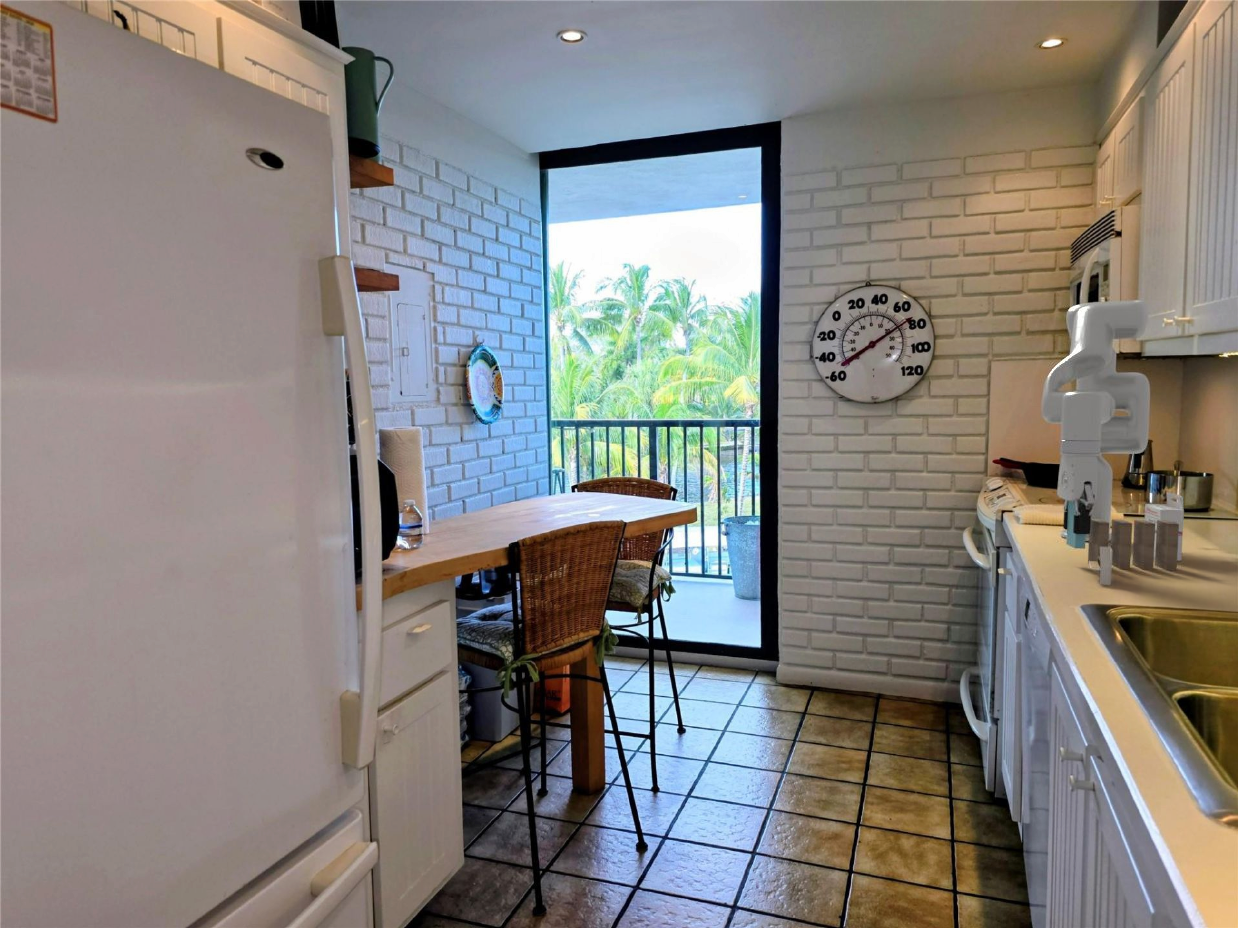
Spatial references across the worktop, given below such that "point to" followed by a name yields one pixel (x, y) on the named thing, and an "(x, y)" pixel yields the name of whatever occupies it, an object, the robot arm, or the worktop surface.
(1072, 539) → the domino
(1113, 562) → the domino
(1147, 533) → the domino
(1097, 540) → the domino
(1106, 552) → the architectural model
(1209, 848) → the worktop surface
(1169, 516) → the ink cartridge box
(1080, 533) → the robot arm
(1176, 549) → the domino
